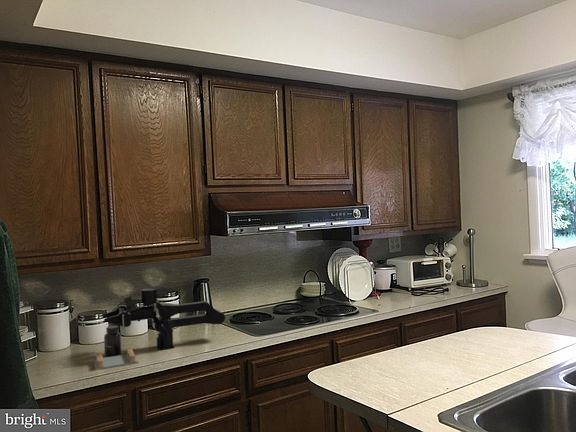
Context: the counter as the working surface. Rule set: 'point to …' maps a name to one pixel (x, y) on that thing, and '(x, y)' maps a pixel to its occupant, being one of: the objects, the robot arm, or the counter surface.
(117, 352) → the supplement bottle
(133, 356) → the cradle rails
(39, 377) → the counter surface
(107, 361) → the rubber mat
